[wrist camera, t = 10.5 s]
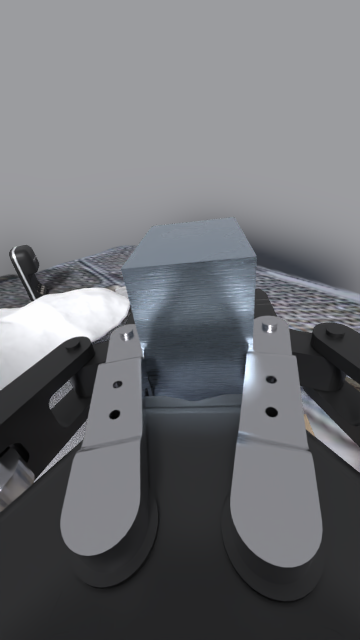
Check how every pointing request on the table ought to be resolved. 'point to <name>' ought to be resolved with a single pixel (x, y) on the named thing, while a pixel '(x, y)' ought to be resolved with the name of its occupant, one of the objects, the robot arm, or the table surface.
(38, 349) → the crumpled cloth
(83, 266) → the table surface
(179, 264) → the link block
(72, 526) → the robot arm
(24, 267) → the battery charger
